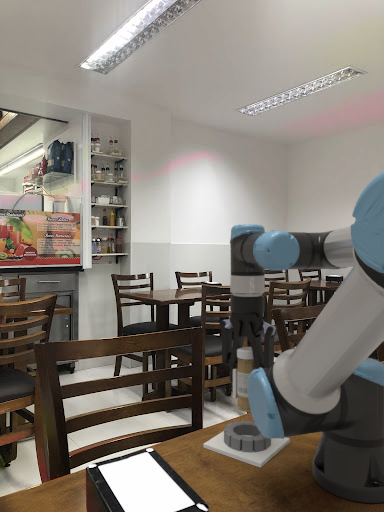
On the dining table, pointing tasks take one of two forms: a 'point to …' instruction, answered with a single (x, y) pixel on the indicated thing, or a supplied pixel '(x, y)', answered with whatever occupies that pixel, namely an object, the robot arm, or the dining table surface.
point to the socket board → (246, 456)
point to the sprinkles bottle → (244, 376)
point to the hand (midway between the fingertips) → (247, 399)
